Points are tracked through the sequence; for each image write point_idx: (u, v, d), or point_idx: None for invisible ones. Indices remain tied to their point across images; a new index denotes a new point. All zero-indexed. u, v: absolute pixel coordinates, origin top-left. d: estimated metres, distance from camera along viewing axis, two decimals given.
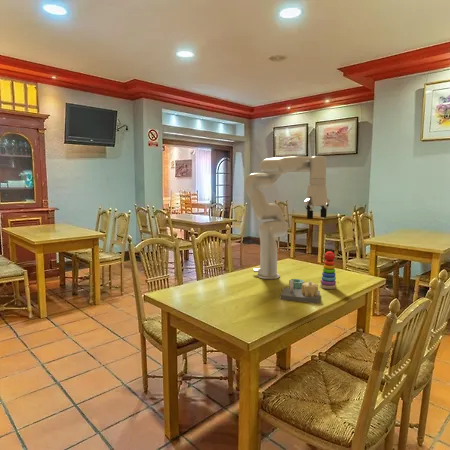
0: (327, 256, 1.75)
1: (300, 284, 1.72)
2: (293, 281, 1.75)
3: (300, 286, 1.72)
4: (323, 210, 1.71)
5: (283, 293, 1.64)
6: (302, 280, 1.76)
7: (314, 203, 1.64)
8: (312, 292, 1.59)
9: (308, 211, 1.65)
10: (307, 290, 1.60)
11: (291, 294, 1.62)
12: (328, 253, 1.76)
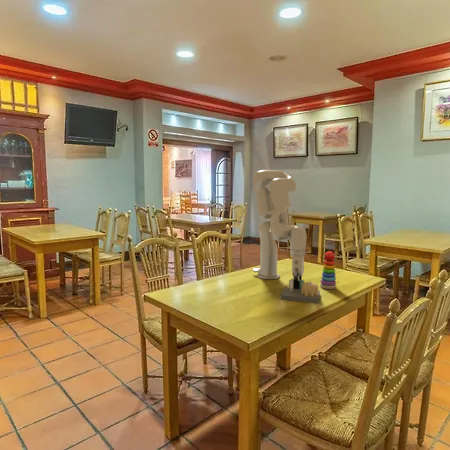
0: (327, 256, 1.75)
1: (300, 284, 1.72)
2: None
3: (300, 286, 1.72)
4: None
5: (283, 293, 1.64)
6: (302, 280, 1.76)
7: None
8: (312, 292, 1.59)
9: None
10: (307, 290, 1.60)
11: (291, 294, 1.62)
12: (328, 253, 1.76)
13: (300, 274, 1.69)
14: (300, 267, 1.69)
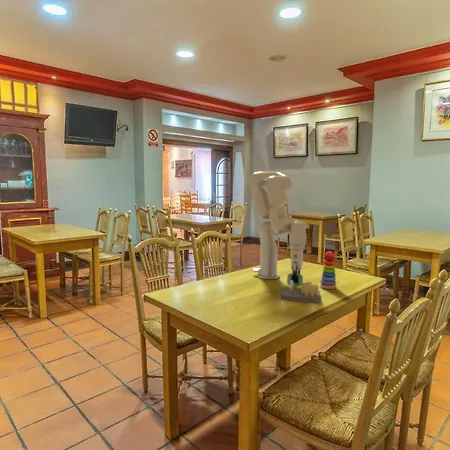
0: (327, 256, 1.75)
1: (298, 279, 1.73)
2: (291, 276, 1.75)
3: (298, 281, 1.73)
4: None
5: (283, 293, 1.64)
6: (300, 275, 1.77)
7: None
8: (312, 292, 1.59)
9: None
10: (307, 290, 1.60)
11: (291, 294, 1.62)
12: (328, 253, 1.76)
13: (299, 268, 1.70)
14: (299, 261, 1.69)
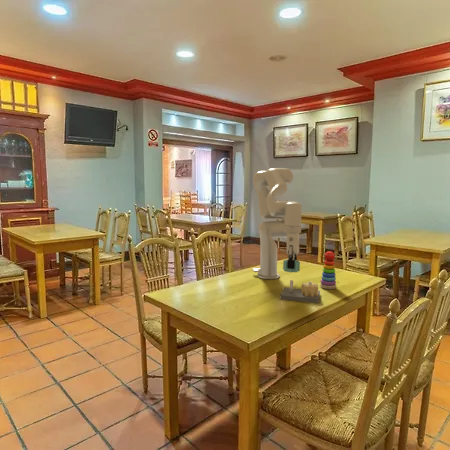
0: (327, 256, 1.75)
1: (295, 264, 1.61)
2: None
3: (295, 266, 1.61)
4: None
5: (283, 293, 1.64)
6: (297, 260, 1.64)
7: None
8: (312, 292, 1.59)
9: None
10: (307, 290, 1.60)
11: (291, 294, 1.62)
12: (328, 253, 1.76)
13: (295, 252, 1.58)
14: (295, 244, 1.57)
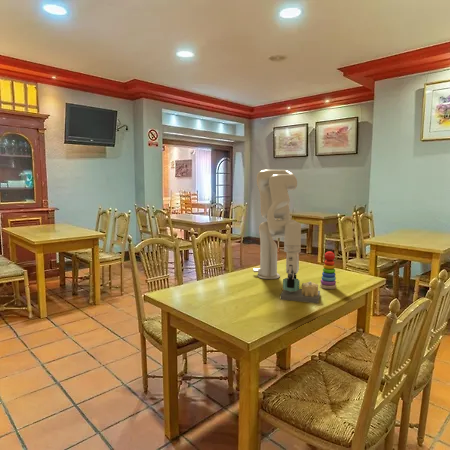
0: (327, 256, 1.75)
1: (295, 283, 1.62)
2: None
3: (294, 285, 1.62)
4: None
5: (283, 293, 1.64)
6: (297, 279, 1.66)
7: None
8: (312, 292, 1.59)
9: None
10: (307, 290, 1.60)
11: (291, 294, 1.62)
12: (328, 253, 1.76)
13: (295, 271, 1.59)
14: (295, 264, 1.59)
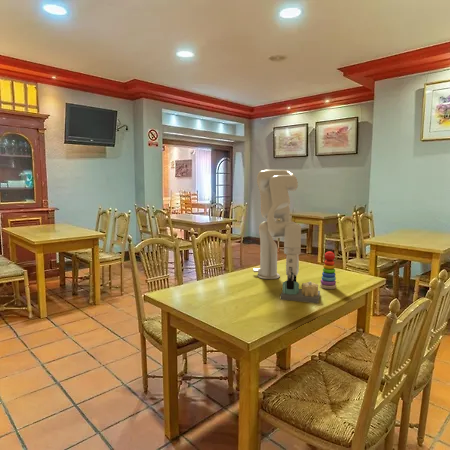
0: (327, 256, 1.75)
1: (294, 286, 1.62)
2: None
3: (294, 288, 1.62)
4: None
5: (283, 293, 1.64)
6: (296, 282, 1.66)
7: None
8: (312, 292, 1.59)
9: None
10: (307, 290, 1.60)
11: (291, 294, 1.62)
12: (328, 253, 1.76)
13: (294, 273, 1.59)
14: (294, 266, 1.59)
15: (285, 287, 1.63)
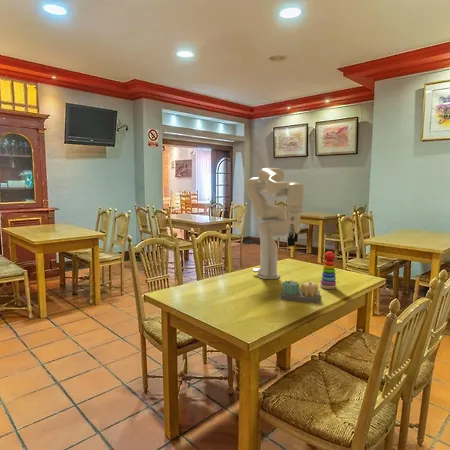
0: (327, 256, 1.75)
1: (294, 286, 1.62)
2: (287, 283, 1.64)
3: (294, 288, 1.62)
4: None
5: (283, 293, 1.64)
6: (296, 282, 1.66)
7: None
8: (312, 292, 1.59)
9: None
10: (307, 290, 1.60)
11: (291, 294, 1.62)
12: (328, 253, 1.76)
13: (296, 231, 1.65)
14: (296, 224, 1.64)
15: (285, 287, 1.63)
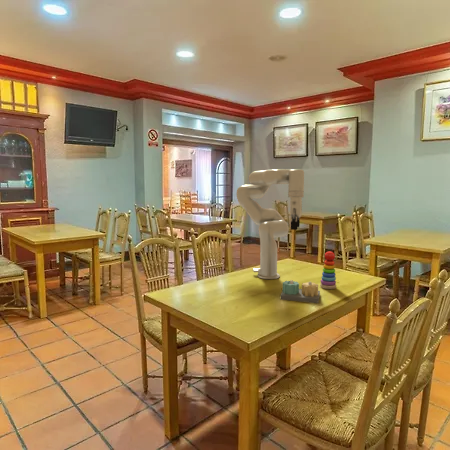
0: (327, 256, 1.75)
1: (294, 286, 1.62)
2: (287, 283, 1.64)
3: (294, 288, 1.62)
4: None
5: (283, 293, 1.64)
6: (296, 282, 1.66)
7: None
8: (312, 292, 1.59)
9: None
10: (307, 290, 1.60)
11: (291, 294, 1.62)
12: (328, 253, 1.76)
13: (298, 215, 1.71)
14: (298, 208, 1.71)
15: (285, 287, 1.63)
